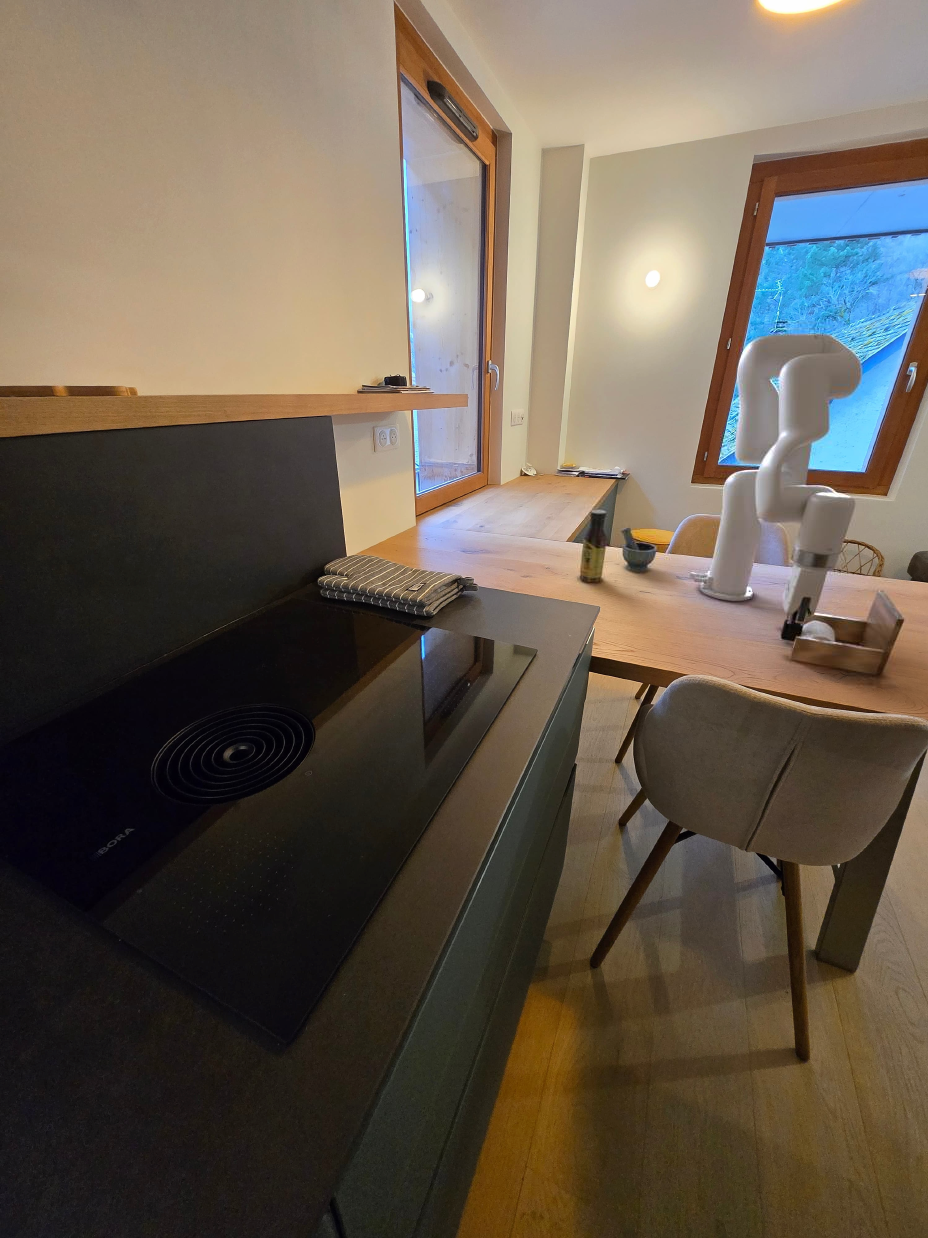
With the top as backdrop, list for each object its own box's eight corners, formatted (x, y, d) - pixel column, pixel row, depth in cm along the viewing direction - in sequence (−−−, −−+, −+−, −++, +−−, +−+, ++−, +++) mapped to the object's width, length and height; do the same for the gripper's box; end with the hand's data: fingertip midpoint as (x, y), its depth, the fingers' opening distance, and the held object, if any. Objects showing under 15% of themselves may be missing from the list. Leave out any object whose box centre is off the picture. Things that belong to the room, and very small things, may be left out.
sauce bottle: (576, 575, 144) (582, 508, 136) (597, 575, 145) (604, 507, 136) (583, 584, 139) (590, 514, 130) (605, 583, 139) (613, 513, 130)
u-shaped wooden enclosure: (789, 659, 100) (806, 605, 95) (783, 629, 112) (798, 579, 107) (881, 676, 94) (904, 619, 89) (863, 642, 106) (883, 590, 101)
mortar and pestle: (658, 567, 150) (665, 529, 144) (646, 576, 143) (652, 536, 138) (624, 560, 156) (628, 523, 151) (610, 568, 150) (615, 529, 145)
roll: (828, 639, 107) (836, 616, 105) (832, 663, 98) (841, 639, 96) (796, 633, 110) (803, 610, 108) (796, 656, 101) (804, 632, 98)
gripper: (789, 544, 105) (767, 622, 113) (795, 566, 93) (770, 651, 101) (831, 549, 102) (805, 628, 110) (843, 572, 90) (814, 659, 98)
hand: (789, 639), depth 105 cm, fingers closed
